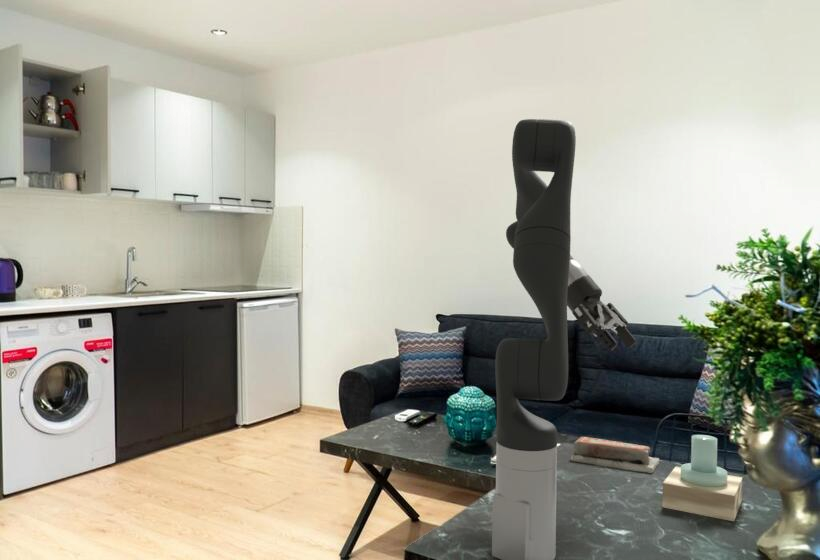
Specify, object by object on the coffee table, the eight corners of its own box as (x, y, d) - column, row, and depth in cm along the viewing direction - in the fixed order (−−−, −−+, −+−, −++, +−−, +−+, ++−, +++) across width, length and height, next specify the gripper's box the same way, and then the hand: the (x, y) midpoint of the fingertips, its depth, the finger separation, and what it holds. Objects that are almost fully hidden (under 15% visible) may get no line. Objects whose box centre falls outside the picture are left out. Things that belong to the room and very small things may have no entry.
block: (733, 524, 115) (734, 495, 115) (662, 509, 121) (662, 482, 121) (741, 503, 125) (742, 477, 125) (675, 490, 131) (675, 466, 131)
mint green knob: (720, 490, 117) (721, 446, 117) (674, 480, 123) (675, 438, 122) (732, 479, 124) (733, 437, 123) (688, 470, 129) (689, 430, 128)
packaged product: (570, 441, 149) (581, 432, 158) (569, 463, 149) (580, 452, 158) (653, 453, 141) (660, 442, 149) (653, 475, 141) (659, 463, 149)
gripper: (569, 273, 131) (621, 336, 124) (602, 274, 142) (651, 332, 134) (545, 298, 135) (593, 361, 128) (579, 297, 146) (626, 354, 138)
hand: (623, 346), depth 131 cm, fingers open, 8 cm apart
